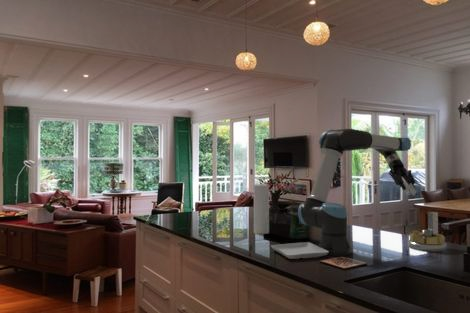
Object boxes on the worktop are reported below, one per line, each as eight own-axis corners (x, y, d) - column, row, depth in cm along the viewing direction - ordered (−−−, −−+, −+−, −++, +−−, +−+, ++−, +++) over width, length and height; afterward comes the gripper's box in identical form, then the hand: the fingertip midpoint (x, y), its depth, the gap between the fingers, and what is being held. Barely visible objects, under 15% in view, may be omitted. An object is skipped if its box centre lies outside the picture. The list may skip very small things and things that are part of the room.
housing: (421, 252, 185) (421, 233, 185) (402, 244, 201) (401, 227, 202) (454, 251, 187) (453, 232, 187) (431, 243, 204) (431, 226, 204)
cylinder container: (256, 234, 231) (256, 184, 231) (251, 231, 240) (251, 183, 240) (271, 233, 234) (271, 184, 234) (265, 230, 243) (265, 183, 243)
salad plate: (287, 262, 169) (287, 254, 169) (270, 251, 189) (270, 244, 189) (330, 258, 175) (330, 251, 175) (308, 248, 195) (308, 241, 195)
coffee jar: (295, 239, 215) (295, 206, 215) (287, 237, 222) (287, 205, 222) (309, 238, 219) (309, 205, 219) (301, 235, 226) (301, 204, 226)
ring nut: (434, 245, 184) (434, 216, 184) (404, 240, 196) (404, 213, 196) (450, 241, 193) (450, 213, 193) (421, 236, 205) (421, 210, 205)
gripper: (405, 167, 231) (422, 197, 214) (380, 167, 229) (395, 198, 212) (410, 158, 226) (428, 189, 209) (384, 158, 224) (400, 189, 207)
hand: (411, 193), depth 211 cm, fingers open, 3 cm apart
